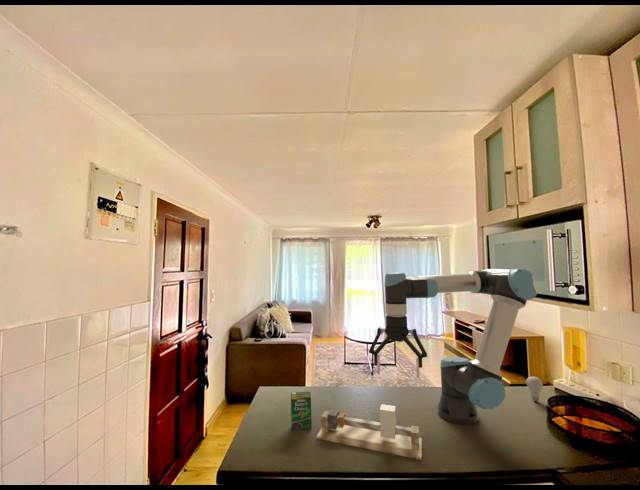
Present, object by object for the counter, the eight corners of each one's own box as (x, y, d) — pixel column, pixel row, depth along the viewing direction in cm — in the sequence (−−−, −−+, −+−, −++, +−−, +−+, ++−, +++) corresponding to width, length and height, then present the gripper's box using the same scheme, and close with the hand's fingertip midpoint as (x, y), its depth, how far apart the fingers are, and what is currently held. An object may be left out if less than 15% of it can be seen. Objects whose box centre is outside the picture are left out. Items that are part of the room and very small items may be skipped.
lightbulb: (547, 404, 130) (545, 379, 131) (533, 404, 130) (532, 379, 131) (537, 398, 136) (535, 374, 137) (524, 398, 136) (522, 374, 137)
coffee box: (290, 430, 110) (290, 394, 111) (290, 426, 113) (290, 391, 114) (311, 429, 111) (311, 394, 112) (311, 425, 114) (311, 391, 115)
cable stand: (421, 440, 104) (421, 418, 104) (421, 459, 93) (420, 435, 94) (326, 423, 116) (325, 403, 116) (316, 438, 105) (316, 417, 106)
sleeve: (396, 432, 103) (395, 406, 104) (395, 439, 100) (394, 411, 100) (381, 430, 105) (381, 404, 106) (380, 436, 101) (379, 409, 102)
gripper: (431, 314, 106) (434, 374, 105) (363, 312, 113) (364, 368, 112) (433, 318, 99) (436, 382, 97) (360, 315, 106) (361, 375, 104)
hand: (398, 375), depth 104 cm, fingers open, 13 cm apart
